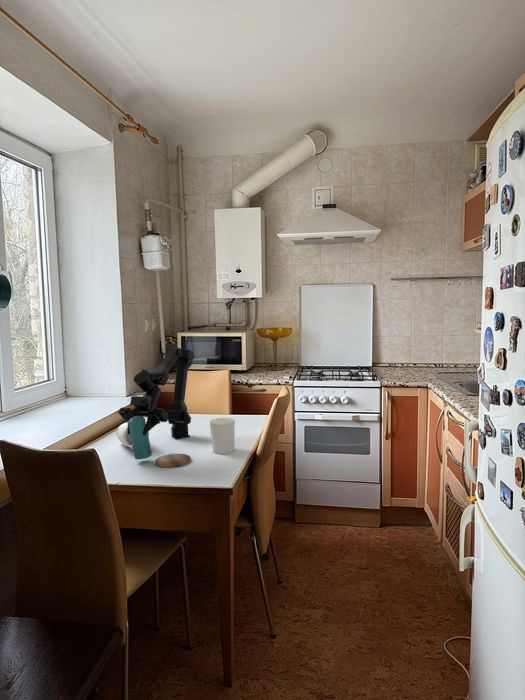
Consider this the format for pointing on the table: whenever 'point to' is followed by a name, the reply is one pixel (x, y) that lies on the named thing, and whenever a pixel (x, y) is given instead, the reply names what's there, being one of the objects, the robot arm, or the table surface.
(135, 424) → the beverage bottle
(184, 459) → the walnut coaster
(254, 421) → the table surface
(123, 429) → the jar
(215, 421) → the white cup
